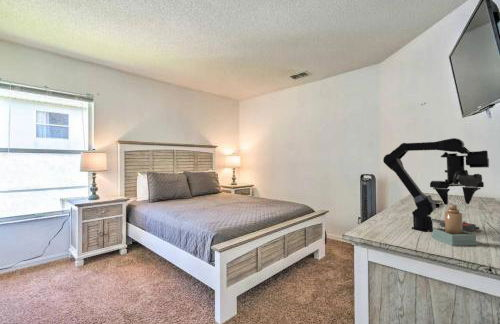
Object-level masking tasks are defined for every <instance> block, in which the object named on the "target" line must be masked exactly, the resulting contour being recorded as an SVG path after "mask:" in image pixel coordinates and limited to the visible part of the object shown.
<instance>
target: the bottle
mask: <svg viewBox="0 0 500 324" xmlns="http://www.w3.org/2000/svg"><path fill="white" fill-rule="evenodd" d="M446 210H447V211H444V220H445V227H444V230H445V231H444V232H446V233H449V234H452V235H460V234H462V221H463V212H460V210H459V209H458V205H457V204H449V208H447V209H446Z"/></svg>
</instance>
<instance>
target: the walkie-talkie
mask: <svg viewBox="0 0 500 324" xmlns="http://www.w3.org/2000/svg"><path fill="white" fill-rule="evenodd" d="M431 220H432V222H438V223H439V225H440V227H441V228H445V219H437V218H431ZM477 230H480V227H479V226H477V225H476V224H474V223H471V222H470V223H469V222H467V220H462V231H465V232H468V233H471V232H475V231H477Z"/></svg>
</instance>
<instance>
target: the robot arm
mask: <svg viewBox="0 0 500 324" xmlns="http://www.w3.org/2000/svg"><path fill="white" fill-rule="evenodd" d="M414 151H441V152H444V153H443V154H442V155H440V157H441V158H446V169H444V173H446V179H445V180H431V182H430V183H429V187H430V188H432V189H433V190H434V191H436V193H437V194H438V195H439V197H440V199H441V201H442V202H443V204H444V205H448V203H449V191H451V190H450V187H462V192H463V196H464V201H465V204H466V205H470V203H471V201H472V198H473V196H474V195H475V193H476V192H477V191H479V190H481V188H484V187H485V185H484V184H485V183H484V182H483V175H482V174H480V173H474V174H469V171H468V170H467V169H465V165H466V166H469V168H489V167H490V158H489V154H488V150H479V151H470V149H468V148H467V147H466V146H465V143H464V141H463V140H461V139H460V138H457V137H456V138H454V137H452V138H448V139H442V140H438V141H427V142H408V143H407V142H402V143H400V145H399V146H397V147H396V148H395V149H393V150H392V151H391V152H390V153H387V154H385V155H384V157H383V163H384V164H385V166H387V168H389V169H390V170H391V171H393V172H394V173H395V174H396V176H397V177H398V178H399V180H400V181H401V183H402V184H403V185H404V187H405V188H406V189H407V191H408V192H409V193H410V195H411V196H412V197H413V200H414V204H415V206H416V209H414V210H413V211H412V212H411V214H412V218H413V219H412V221H413V226H411V229H413V230H417V231H422V232H429V231H430V232H431V231H433V229H434V228H433V227H434V226H433V223H434V221H432V216H431V214H432V213H433V212H435V210H437V205H436V203H437V202H436V201H435V200H434V199H433V198H432V196H431V195H430V194H428V195H426V194H425V193H423V191H422V190H421V188H419V186H418V185H417V183H416V182H415V181H414V180H413V178H412V177H411V175H410V174H409V173H408V172H407V170H406V169H405V167H404V164H403V161H402V158H403V157H404V156H405V155H406V154H407V153H408V152H414ZM448 152H450V153H448ZM451 152H452V153H451ZM458 153H459V154H460V155H458ZM461 154H462V155H461ZM448 206H449V205H448Z"/></svg>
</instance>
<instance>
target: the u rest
mask: <svg viewBox="0 0 500 324" xmlns="http://www.w3.org/2000/svg"><path fill="white" fill-rule="evenodd" d="M431 238H432V239H433V240H436V241H439V242H442V243H444V244H445V245H446V244H447V245H449V246H451V247H458V246H460V247H461V246H464V247H465V246H480V243H479V241H478V240H477V234H475V233H471V232H467V231H462V234H460V235H452V234H449V233H446V232H445V231H443V230H440V229H437V228H433V230H432V234H431Z"/></svg>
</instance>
